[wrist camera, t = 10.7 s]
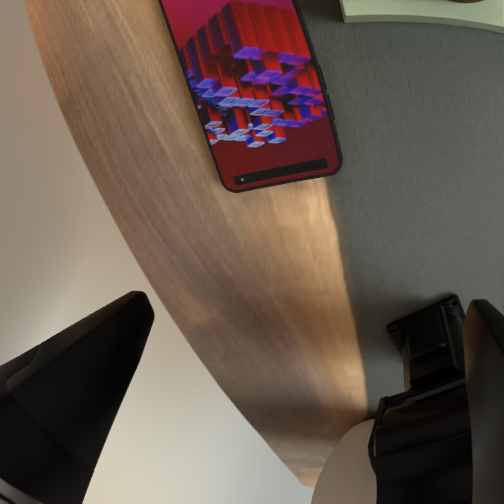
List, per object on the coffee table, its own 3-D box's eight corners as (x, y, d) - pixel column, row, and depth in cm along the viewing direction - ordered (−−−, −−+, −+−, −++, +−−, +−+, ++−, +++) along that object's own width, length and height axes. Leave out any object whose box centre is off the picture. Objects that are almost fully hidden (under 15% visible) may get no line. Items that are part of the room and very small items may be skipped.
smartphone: (270, -63, 10) (346, 174, 17) (274, -58, 11) (346, 169, 18) (151, -14, 13) (224, 196, 20) (159, -12, 14) (228, 191, 21)
